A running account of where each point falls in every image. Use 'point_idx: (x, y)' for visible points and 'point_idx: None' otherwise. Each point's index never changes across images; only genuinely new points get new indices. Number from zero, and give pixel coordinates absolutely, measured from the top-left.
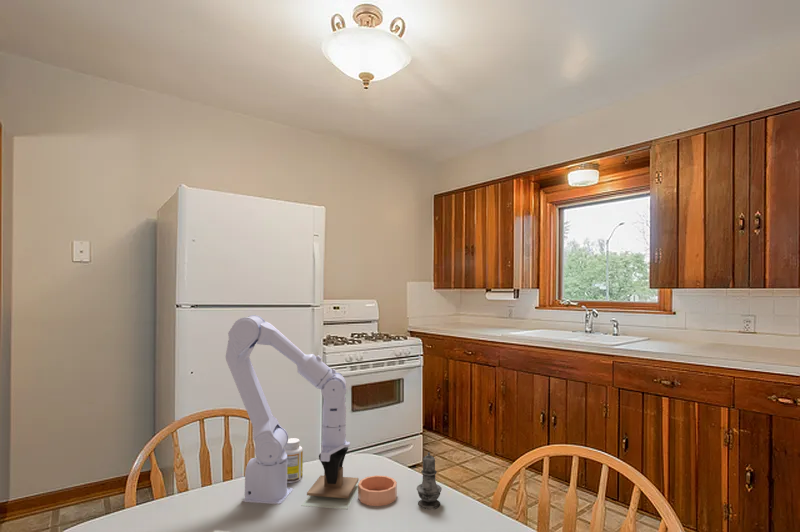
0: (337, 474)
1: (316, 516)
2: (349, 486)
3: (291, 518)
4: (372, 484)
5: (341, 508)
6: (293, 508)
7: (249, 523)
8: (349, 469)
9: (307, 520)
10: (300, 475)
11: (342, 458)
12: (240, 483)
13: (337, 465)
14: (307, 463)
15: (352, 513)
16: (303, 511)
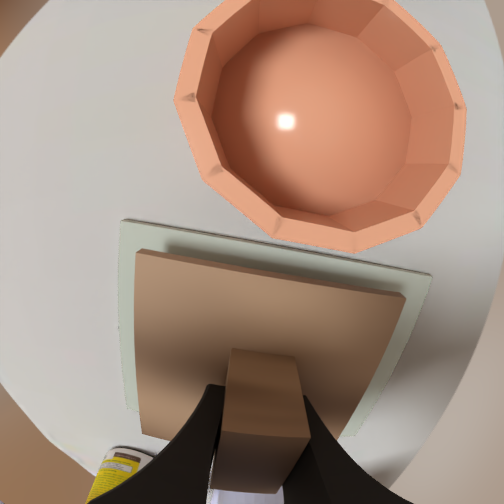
0: (321, 431)
1: (427, 375)
2: (279, 305)
3: (409, 428)
4: (216, 139)
5: (422, 304)
6: (351, 444)
7: (393, 477)
8: (6, 292)
9: (438, 390)
10: (140, 466)
11: (206, 494)
12: None
13: (386, 488)
14: (28, 415)
15: (448, 249)
16: (381, 418)
